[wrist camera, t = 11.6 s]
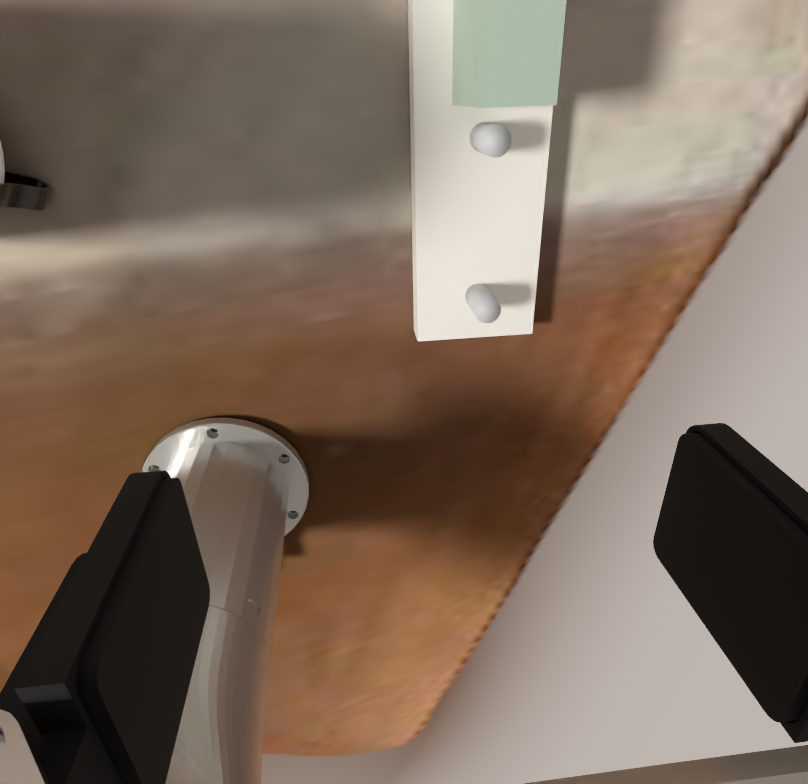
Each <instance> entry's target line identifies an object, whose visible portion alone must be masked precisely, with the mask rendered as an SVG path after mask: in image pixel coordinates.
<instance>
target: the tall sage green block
mask: <svg viewBox="0 0 808 784" xmlns="http://www.w3.org/2000/svg"><path fill="white" fill-rule="evenodd" d="M566 1H567V0H453V72H452V105H457V106H467V107H477V108H493V107H521V106H549V105H557V98H558V87H559V77H560V66H561V55H562V44H563V33H564V22H565V12H566Z"/></svg>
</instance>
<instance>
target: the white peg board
mask: <svg viewBox="0 0 808 784" xmlns="http://www.w3.org/2000/svg"><path fill="white" fill-rule="evenodd" d="M408 33H409V87H410V142H411V196H412V250H413V304H414V332H415V335H416V338H417V341H431V340H446V339H461V338H475V337H490V336H505V335H519V334H532V331H533V320H534V309H535V298H536V287H537V276H538V266H539V255H540V244H541V233H542V222H543V211H544V200H545V190H546V179H547V168H548V157H549V146H550V135H551V124H552V114H553V105H549V106H521V107H493V108H477V107H467V106H457V105H452V72H453V0H408Z"/></svg>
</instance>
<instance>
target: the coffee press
mask: <svg viewBox="0 0 808 784" xmlns="http://www.w3.org/2000/svg"><path fill="white" fill-rule="evenodd" d="M49 190H50V186H49V185H48V184H47V183H45V182H43V181H41V180H39V179H36V178H33V177H30V176H26V175H22V174H17V173H13V172H9V171H5V167H4V156H3V149H2V145H1V141H0V207H18V208H26V209H34V210H44V209H45V206H46V202H47V198H48V194H49Z"/></svg>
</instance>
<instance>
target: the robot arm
mask: <svg viewBox="0 0 808 784" xmlns="http://www.w3.org/2000/svg"><path fill="white" fill-rule="evenodd" d="M308 498H309V479H308V472H307V470H306V467H305V465H304V462H303V460H302V459H301V457H300V456H299V454H298V453H297V451H296V450H295V449H294V448H293V447H292V446H291V445H290V444H289V443H288V442H287V441H286V440H285V439H284V438H283V437H281V436H280V435H278V434H277V433H275V432H274V431H272V430H270V429H268V428H266V427H264V426H261V425H259V424H256V423H253V422H249V421H246V420H242V419H234V418H207V419H202V420H197V421H193V422H190V423H188V424H185V425H182V426H180V427H178V428H176V429H174V430H173V431H171V432H170V433H168V434H167V435H165V436H164V437H163V438H162V439H161V440H160V441H159V442H158V443H157V444H156V445H155V446H154V448H153V450H152V451H151V453H150V454H149V456H148V458H147V460H146V462H145V464H144V466H143V469H142V472H140V473H132V474H130V475H129V477H128V478H127V480H126V481H125V483H124V485H123V487H122V489H121V491H120V493H119V494H118V496H117V498H116V500H115V502H114V504H113V506H112V507H111V509H110V511H109V513H108V515H107V517H106V519H105V521H104V522H103V524H102V526H101V528H100V530H99V532H98V534H97V535H96V537H95V539H94V541H93V543H92V545H91V547H90V548H89V550H88V552H87V553H83V554H82V555H80V556H79V557H77V559H76V560H75V561H74V563H73V564H72V565H71V567H70V569H69V571H68V573H67V574H66V576H65V578H64V580H63V582H62V583H61V585H60V587H59V589H58V591H57V592H56V594H55V596H54V598H53V600H52V601H51V603H50V605H49V607H48V609H47V610H46V612H45V614H44V616H43V618H42V619H41V621H40V623H39V625H38V627H37V628H36V630H35V632H34V634H33V636H32V637H31V639H30V641H29V643H28V644H27V646H26V648H25V650H24V652H23V653H22V655H21V657H20V659H19V661H18V662H17V664H16V666H15V668H14V670H13V671H12V673H11V675H10V677H9V679H8V680H7V682H6V684H5V686H4V688H3V689H2V691H1V693H0V784H261V768H262V767H261V766H262V764H261V763H262V743H263V725H264V714H265V703H266V693H267V684H268V674H269V666H270V659H271V650H272V641H273V633H274V624H275V615H276V606H277V597H278V588H279V579H280V571H281V562H282V553H283V544H284V536H285V535H287V534H288V533H289V532H290V531H291V530H293V529H294V527H295V526H296V525H297V524H298V522H299V521H300V520H301V518H302V516H303V514H304V512H305V510H306V507H307V502H308ZM653 543H654V549H655V553H656V555H657V557H658V559H659V560H660V562H661V563H662V564H663V566H664V567H665V569H666V570H667V571H668V573H669V575H670V576H671V577H672V579H673V580H674V581H675V583H676V584H677V586H678V587H679V589H680V590H681V592H682V593H683V595H684V596H685V597H686V599H687V600H688V602H689V603H690V605H691V606H692V607H693V609H694V610H695V612H696V613H697V615H698V616H699V618H700V619H701V620H702V622H703V623H704V624H705V626H706V628H707V629H708V631H709V632H710V633H711V635H712V636H713V638H714V639H715V641H716V642H717V643H718V645H719V646H720V648H721V649H722V651H723V652H724V653H725V655H726V656H727V658H728V659H729V661H730V662H731V663H732V665H733V666H734V668H735V669H736V671H737V672H738V674H739V675H740V676H741V678H742V679H743V681H744V682H745V683H746V685H747V687H748V688H749V689H750V691H751V692H752V694H753V695H754V696H755V698H756V699H757V701H758V702H759V704H760V705H761V707H762V708H763V709H764V711H765V712H766V713H767V715H768V716H769V717H770V718H771V719H773V720H774V721H776V722H780V723H781V724H782V726H783V727H784V728H785V730H786V731H787V733H788V734H789V736H790V737H791V738H792V740H793V741H794V743H798V742H805V741H808V492H806V491H805V490H804V489H803V488H802V487H800V486H799V485H798V484H797V483H796V482H795V481H793V480H792V479H791V478H790V477H789V476H788V475H786V474H785V473H784V472H783V471H782V470H780V469H779V468H778V467H777V466H776V465H774V464H773V463H772V462H771V461H770V460H769V459H767V458H766V457H765V456H764V455H763V454H761V453H760V452H759V451H758V450H757V449H756V448H754V447H753V446H752V445H751V444H750V443H748V442H747V441H746V440H745V439H744V438H742V437H741V436H740V435H739V434H738V433H737V432H735V431H734V430H733V429H732V428H731V427H729V426H728V425H726V424H722V423H717V424H705V425H695V426H692V427H690V428H689V429H688V430H687V432H686V434H683V435H682V436H681V437H680V438H679V441H678V445H677V448H676V452H675V456H674V460H673V464H672V468H671V472H670V476H669V480H668V484H667V488H666V491H665V495H664V499H663V503H662V507H661V511H660V515H659V519H658V523H657V527H656V531H655V535H654V540H653ZM526 784H808V745H805V746H797V747H791V748H783V749H775V750H767V751H760V752H752V753H745V754H737V755H730V756H723V757H715V758H707V759H701V760H693V761H685V762H678V763H670V764H663V765H655V766H648V767H641V768H634V769H626V770H619V771H612V772H605V773H597V774H591V775H583V776H576V777H568V778H562V779H554V780H547V781H540V782H533V783H526Z"/></svg>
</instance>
